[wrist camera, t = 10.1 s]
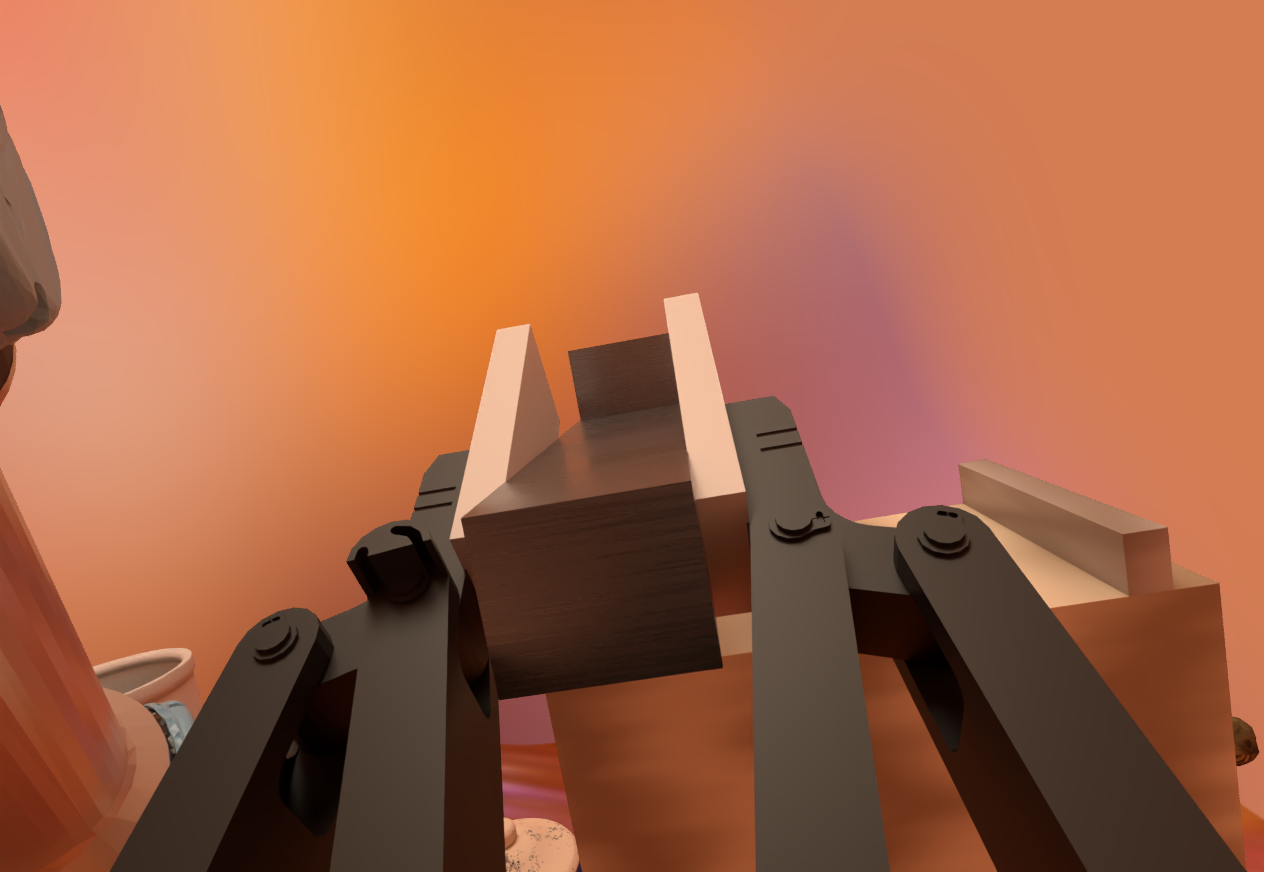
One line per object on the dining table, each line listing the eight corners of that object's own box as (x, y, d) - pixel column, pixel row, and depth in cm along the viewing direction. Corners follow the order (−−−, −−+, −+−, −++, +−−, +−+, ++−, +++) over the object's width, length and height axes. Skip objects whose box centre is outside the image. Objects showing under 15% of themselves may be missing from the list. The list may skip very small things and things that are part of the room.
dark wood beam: (469, 704, 10) (398, 370, 9) (603, 469, 28) (581, 350, 27) (723, 668, 10) (663, 321, 9) (692, 454, 27) (672, 334, 27)
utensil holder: (59, 861, 70) (9, 688, 68) (233, 791, 77) (192, 633, 75) (28, 957, 57) (-35, 747, 55) (239, 862, 65) (190, 674, 63)
